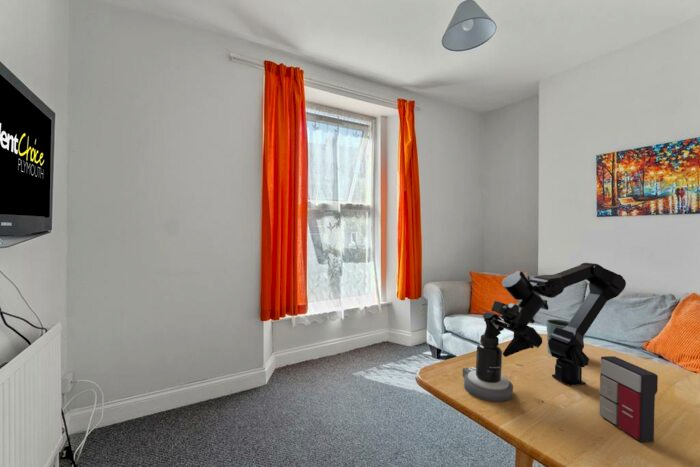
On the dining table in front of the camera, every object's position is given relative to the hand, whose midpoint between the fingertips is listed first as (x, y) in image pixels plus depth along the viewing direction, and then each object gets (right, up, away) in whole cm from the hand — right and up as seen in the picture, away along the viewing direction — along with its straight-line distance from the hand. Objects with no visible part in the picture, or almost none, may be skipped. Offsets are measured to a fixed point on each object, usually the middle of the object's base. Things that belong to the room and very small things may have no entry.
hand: (492, 349), depth 94 cm
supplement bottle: (-1, -8, 0) cm, 8 cm away
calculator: (+23, -12, -18) cm, 32 cm away
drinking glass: (+40, -12, +30) cm, 51 cm away
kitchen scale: (-2, -12, +1) cm, 12 cm away
